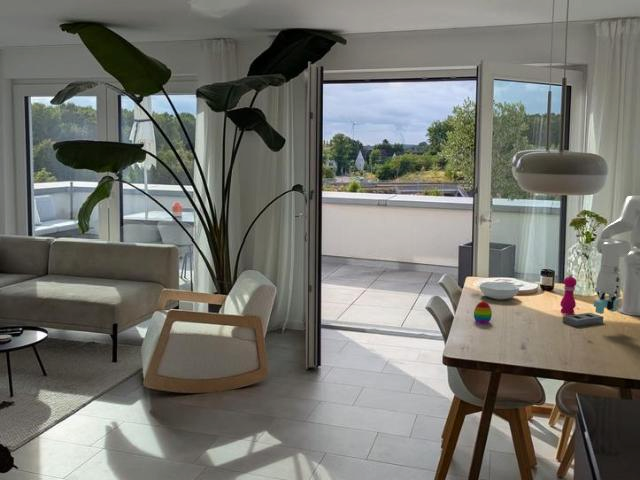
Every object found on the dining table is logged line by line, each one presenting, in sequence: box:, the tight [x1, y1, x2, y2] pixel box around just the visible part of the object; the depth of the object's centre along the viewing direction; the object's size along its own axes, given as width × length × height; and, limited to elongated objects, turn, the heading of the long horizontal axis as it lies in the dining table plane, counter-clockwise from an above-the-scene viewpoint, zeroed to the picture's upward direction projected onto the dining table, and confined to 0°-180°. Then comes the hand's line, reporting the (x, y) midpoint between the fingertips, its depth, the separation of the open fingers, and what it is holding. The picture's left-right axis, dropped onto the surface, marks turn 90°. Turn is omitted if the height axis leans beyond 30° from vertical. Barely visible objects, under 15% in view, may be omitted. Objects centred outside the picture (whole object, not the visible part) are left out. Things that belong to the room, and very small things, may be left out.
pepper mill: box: [559, 273, 577, 315], centre depth 329 cm, size 7×7×20 cm
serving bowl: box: [479, 281, 520, 301], centre depth 359 cm, size 21×21×7 cm
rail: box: [562, 312, 604, 328], centre depth 313 cm, size 18×8×3 cm, turn 117°
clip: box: [593, 297, 620, 315], centre depth 302 cm, size 12×4×6 cm, turn 116°
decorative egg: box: [473, 300, 493, 324], centre depth 309 cm, size 8×8×10 cm
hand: (606, 307), depth 302 cm, fingers closed on clip, 3 cm apart
